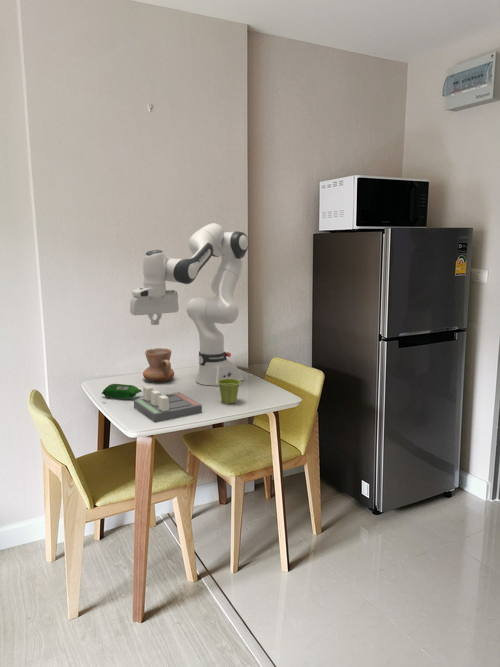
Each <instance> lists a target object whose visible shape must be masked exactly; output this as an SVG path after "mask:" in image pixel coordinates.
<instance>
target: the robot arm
mask: <svg viewBox="0 0 500 667" xmlns="http://www.w3.org/2000/svg"><path fill="white" fill-rule="evenodd" d="M249 241H250V240H249V238H248V235H247V234H246V233H245V232H242V231H227V232H226V231H224V229H223V227H222V226H221V225H220V224H219V223H215V222H212V223H208V224H206V225H204V226H202V227H200V228H199V229H198V230H196V232H194V233H193V234H192V235H191V236H190V238H189V239H188V248H189V250H190V252H191V253H192V256H191V257H189V258H173V257H170V256H168V255H166V253H165V252H164V250H161V249H155V250H149V251H147V252H146V253H145V254H144V257H143V262H142V264H143V265H142V266H143V268H142V270H143V273H142V274H143V277H144V278H143V285H142V286H141V287H138V288H135V289H133V290H132V291H131V295H132V297H131V299H130V303H129V312H130V314H131V315H132V316H145V315H147V316H148V319H149V320H150V325H151V326H156V325H157V326H159V325H160V320H161V319H162V314H174V313H177V312H178V311H179V307H180V306H179V300H178V298H179V293H178V291H176V290H175V289H172V290H166V288H167V287H166V284H167V283H166V282H169V283H170V282H171V283H172V282H173V283H180V284H184V285H189V284H191V283H193V282H194V281H195V279H196V278H197V276H198V274H199V272H200V271H201V270H202V269H203V268H204V266H205V265H206V264H207V263H208V261H210V259H211V258H212V257H215V258H218V257H220V258H221V262H220V263H219V266H218V267H217V269H216V271H215V274H214V276H213V278H212V280H211V282H210V288H211V290H212V291H213V293H214V294H215V296H214V298H211V297H202V296H200V297H193V298H190V300H189V301H188V302H187V304H186V313H187V316H188V317H189V318H190V319H191V320H192V321H193V323H194V325H195V327H196V329H197V331H198V337H199V352H198V364H199V365H198V372H197V377H196V380H195V381H196V383H198V384H199V385H205V386H215V387H219V384H218V381H219V380H221V379H236V380H239V381H240V382H243V381H244V377H243V376H242V375H241V374H239V373H240V372H239V369H238V367H237V365H236V364H234V363H233V362H231V360H229V359H228V358H230V357H232V354H231V352H226V351H225V347H224V346H225V344H224V343H225V335H224V334H223V333H222V332H221V331H220V330H219V329H218V328H217V326H216V324H220V325H221V324H222V325H226V324H233V323H235V321H236V320H237V319H238V317H239V312H240V311H239V307H238V304H237V303H236V302H235V301H234V292H235V289H236V286H237V284H238V283H239V282H238V281H239V279H240V277H241V273H242V268H243V261H242V259H243V258H244V257H245V255H246V253H247V251H248V248H249V244H250V242H249ZM154 315H156V319H154ZM227 357H228V358H227Z"/></svg>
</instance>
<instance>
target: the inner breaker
mask: <svg viewBox="0 0 500 667" xmlns="http://www.w3.org/2000/svg"><path fill="white" fill-rule="evenodd" d="M142 389H143V390H142V393H143V398H142V399H145V400H146V401H151V391H154V388H153V387H152V386H150V385H145V386H143V387H142Z"/></svg>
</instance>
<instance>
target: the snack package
mask: <svg viewBox="0 0 500 667" xmlns="http://www.w3.org/2000/svg"><path fill="white" fill-rule="evenodd" d="M139 393H143V390H142V389H139V388H138V387H137V386H135V385H132V384H121V383H111V384H108V385H107V386H106V387H105V388H104V389H103V390H102V391H101V394H102V395H103V396H105V398H108V399H117V400H132V399H133V398H134V397H135V396H136V395H137V394H139Z"/></svg>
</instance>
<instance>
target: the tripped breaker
mask: <svg viewBox="0 0 500 667" xmlns="http://www.w3.org/2000/svg"><path fill="white" fill-rule="evenodd" d="M161 395H162V396H158V404H159V410H161V411H162V412H163V411H168V410H169V398H168V397H167V396H165V395H166V394H161Z"/></svg>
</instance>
